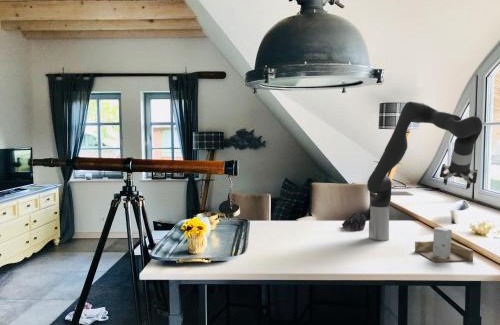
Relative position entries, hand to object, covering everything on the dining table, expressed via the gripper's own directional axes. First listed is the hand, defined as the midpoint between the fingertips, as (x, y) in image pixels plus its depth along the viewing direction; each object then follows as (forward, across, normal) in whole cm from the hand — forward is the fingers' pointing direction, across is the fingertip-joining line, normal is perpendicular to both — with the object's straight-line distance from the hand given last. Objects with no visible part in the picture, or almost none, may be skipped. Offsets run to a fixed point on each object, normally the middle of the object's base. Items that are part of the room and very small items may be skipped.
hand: (456, 185), depth 180 cm
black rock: (+50, +48, 0) cm, 69 cm away
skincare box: (+21, 0, +24) cm, 32 cm away
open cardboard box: (+22, 0, +23) cm, 32 cm away
